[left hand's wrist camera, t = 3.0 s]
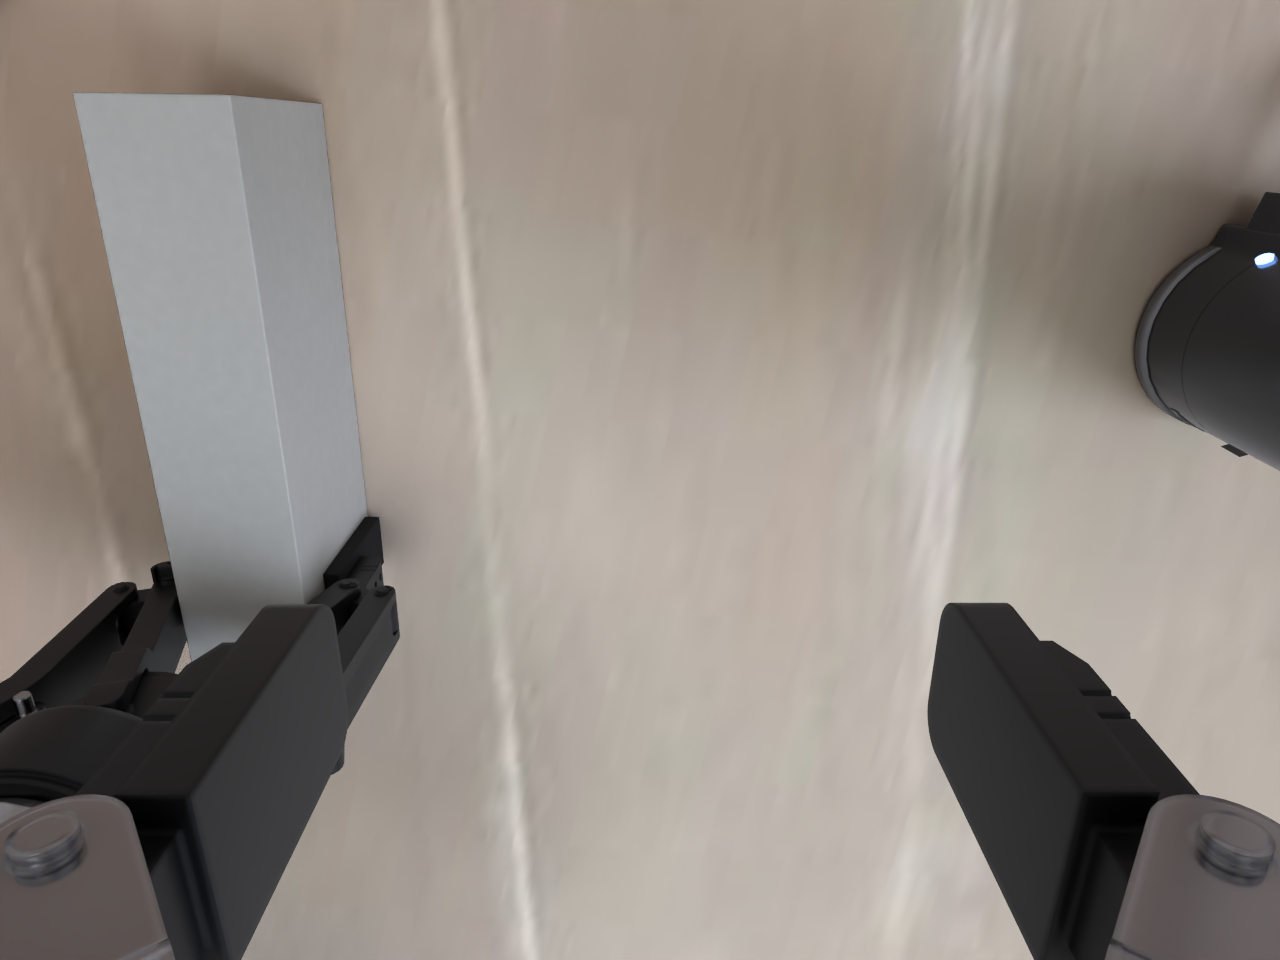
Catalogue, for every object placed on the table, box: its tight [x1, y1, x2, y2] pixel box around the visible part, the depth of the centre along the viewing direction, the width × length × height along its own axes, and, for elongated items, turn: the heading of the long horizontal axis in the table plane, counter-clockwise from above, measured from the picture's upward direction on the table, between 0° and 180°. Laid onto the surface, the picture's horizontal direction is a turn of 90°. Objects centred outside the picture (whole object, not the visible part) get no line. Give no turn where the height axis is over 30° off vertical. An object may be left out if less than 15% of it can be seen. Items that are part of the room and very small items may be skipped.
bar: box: [73, 92, 368, 662], centre depth 40 cm, size 26×6×9 cm, turn 179°
